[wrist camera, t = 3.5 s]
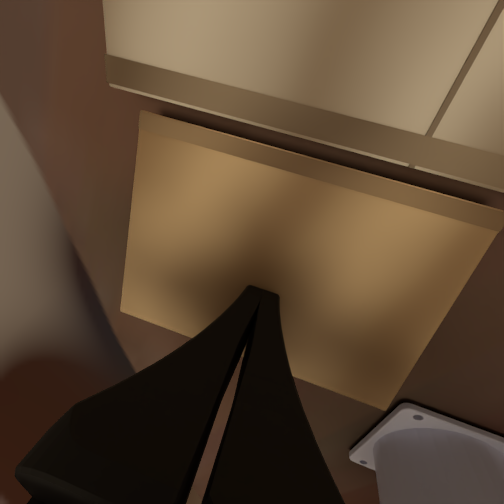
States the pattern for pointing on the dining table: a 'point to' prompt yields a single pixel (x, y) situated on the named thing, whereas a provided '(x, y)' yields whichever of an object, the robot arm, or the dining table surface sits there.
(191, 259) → the board
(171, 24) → the floor board
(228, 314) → the robot arm
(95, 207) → the dining table surface
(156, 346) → the dining table surface
